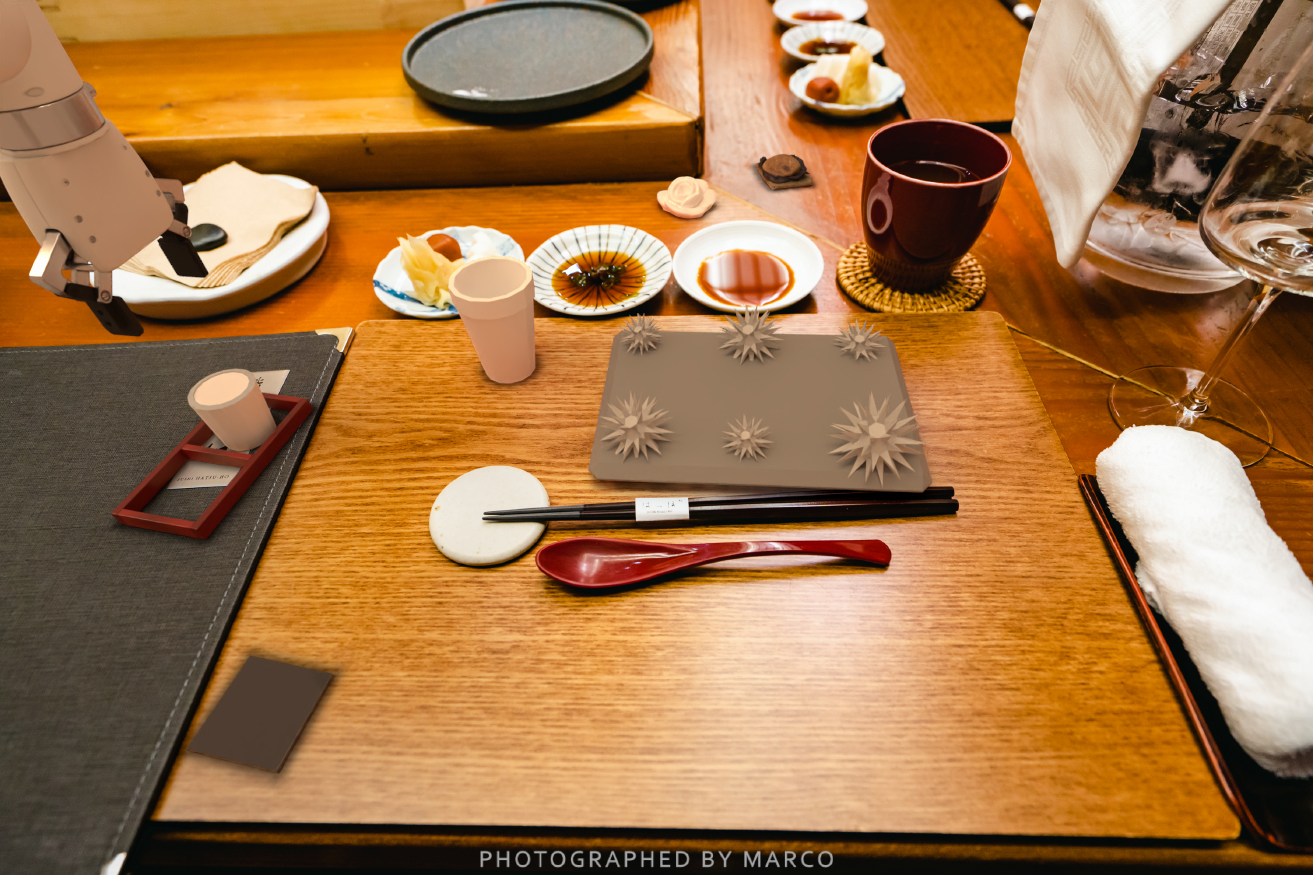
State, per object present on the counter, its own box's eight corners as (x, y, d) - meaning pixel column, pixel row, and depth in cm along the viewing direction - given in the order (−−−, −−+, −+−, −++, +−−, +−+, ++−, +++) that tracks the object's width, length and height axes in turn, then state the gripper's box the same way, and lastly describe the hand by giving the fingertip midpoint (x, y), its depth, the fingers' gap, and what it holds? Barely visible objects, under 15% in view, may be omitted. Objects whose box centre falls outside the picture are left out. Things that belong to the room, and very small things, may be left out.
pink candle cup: (208, 434, 79) (177, 388, 74) (267, 404, 82) (240, 359, 77) (232, 464, 75) (200, 419, 70) (292, 432, 78) (265, 387, 73)
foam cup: (495, 338, 90) (474, 251, 81) (559, 350, 88) (545, 262, 79) (459, 384, 84) (432, 294, 74) (527, 398, 82) (508, 307, 72)
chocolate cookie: (815, 187, 119) (818, 166, 116) (768, 191, 118) (770, 170, 115) (796, 161, 126) (799, 141, 123) (752, 165, 125) (754, 145, 122)
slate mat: (278, 773, 52) (276, 771, 52) (188, 750, 53) (186, 748, 53) (334, 675, 58) (332, 673, 57) (251, 657, 59) (249, 655, 59)
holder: (313, 409, 81) (308, 398, 80) (205, 540, 68) (196, 529, 67) (240, 398, 83) (233, 387, 81) (120, 524, 70) (109, 513, 68)
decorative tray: (888, 350, 86) (907, 282, 79) (931, 510, 68) (960, 441, 61) (616, 342, 89) (610, 276, 82) (587, 495, 71) (577, 427, 64)
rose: (716, 167, 115) (718, 193, 108) (715, 192, 118) (717, 219, 111) (657, 167, 115) (655, 194, 108) (658, 192, 118) (656, 219, 112)
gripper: (82, 80, 60) (184, 254, 72) (-98, 165, 48) (61, 356, 60) (159, 82, 59) (249, 258, 71) (-5, 169, 47) (137, 363, 59)
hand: (162, 303), depth 65 cm, fingers open, 9 cm apart
